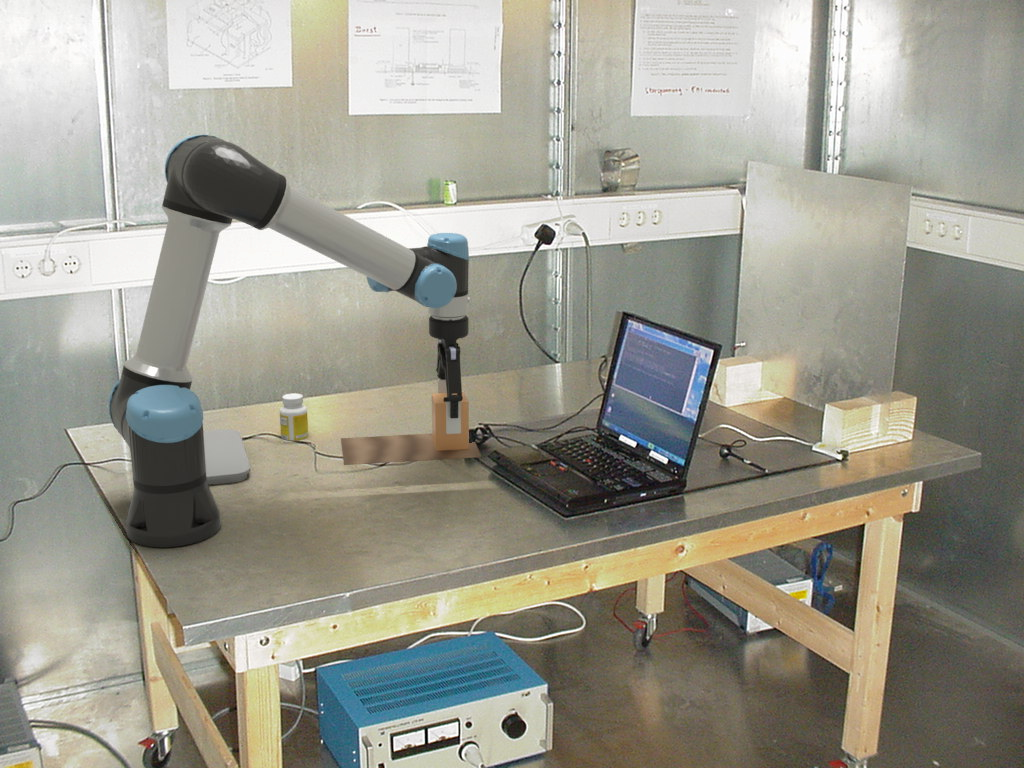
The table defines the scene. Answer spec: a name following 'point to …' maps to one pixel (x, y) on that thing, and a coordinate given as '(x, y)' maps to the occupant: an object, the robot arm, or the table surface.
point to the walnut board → (399, 449)
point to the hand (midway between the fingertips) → (449, 421)
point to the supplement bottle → (293, 418)
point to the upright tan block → (439, 425)
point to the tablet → (225, 456)
